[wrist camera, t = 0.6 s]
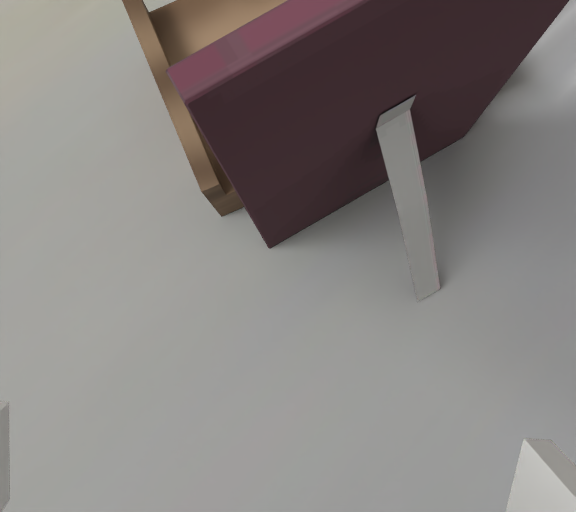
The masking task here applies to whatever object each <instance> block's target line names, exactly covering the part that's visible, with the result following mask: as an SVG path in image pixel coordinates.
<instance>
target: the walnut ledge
mask: <svg viewBox="0 0 576 512" xmlns="http://www.w3.org/2000/svg"><path fill="white" fill-rule="evenodd" d="M122 1H123V3H124V6H125V8H126V11H127V13H128V15H129V18H130V20H131V23H132V25H133V28H134V30H135V32H136V35H137V37H138V40H139V42H140V44H141V47H142V49H143V52H144V54H145V56H146V59H147V61H148V64H149V66H150V69H151V71H152V73H153V76H154V78H155V81H156V83H157V85H158V88H159V90H160V93H161V95H162V97H163V100H164V102H165V105H166V107H167V110H168V112H169V114H170V117H171V119H172V122H173V124H174V126H175V129H176V131H177V134H178V136H179V139H180V141H181V143H182V146H183V148H184V151H185V153H186V155H187V158H188V160H189V163H190V165H191V167H192V170H193V172H194V175H195V177H196V180H197V182H198V184H199V187H200V189H201V192H202V193H203V194H204V195H205V197H206V198H207V199H208V200H209V202H210V203H211V204H212V205H213V207H214V208H215V209H216V210H217V212H218V213H219V214H220V215H221V217H222V216H224V215H226V214H229V213H231V212H233V211H236V210H238V209H240V208H243V207H244V205H243V203H242V202H241V200H240V198H239V197H238V195H237V193H236V191H235V190H234V188H233V186H232V185H231V183H230V181H229V179H228V178H227V176H226V174H225V173H224V171H223V169H222V168H221V166H220V164H219V162H218V161H217V159H216V157H215V156H214V154H213V152H212V150H211V149H210V147H209V145H208V144H207V142H206V140H205V138H204V137H203V135H202V133H201V132H200V130H199V128H198V127H197V125H196V123H195V121H194V120H193V118H192V116H191V115H190V113H189V111H188V109H187V108H186V106H185V104H184V103H183V101H182V99H181V97H180V96H179V94H178V92H177V90H176V89H175V87H174V85H173V84H172V82H171V80H170V78H169V77H168V75H167V73H166V70H167V68H168V67H170V66H172V65H174V64H175V63H177V62H179V61H181V60H183V59H184V58H186V57H188V56H190V55H191V54H193V53H195V52H197V51H198V50H200V49H202V48H204V47H206V46H207V45H209V44H211V43H213V42H214V41H216V40H218V39H220V38H222V37H223V36H225V35H227V34H229V33H230V32H232V31H234V30H236V29H238V28H239V27H241V26H243V25H245V24H246V23H248V22H250V21H252V20H253V19H255V18H257V17H259V16H261V15H262V14H264V13H266V12H268V11H269V10H271V9H273V8H275V7H277V6H278V5H280V4H282V3H284V2H285V1H287V0H177V1H174V2H172V3H170V4H167V5H165V6H163V7H160V8H158V9H156V10H154V11H151V12H148V10H147V8H146V6H145V4H144V2H143V0H122Z"/></svg>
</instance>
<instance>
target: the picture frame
mask: <svg viewBox="0 0 576 512" xmlns="http://www.w3.org/2000/svg"><path fill="white" fill-rule="evenodd" d="M568 1H569V0H287V1H285V2H284V3H282V4H280V5H278V6H277V7H275V8H273V9H271V10H269V11H268V12H266V13H264V14H262V15H261V16H259V17H257V18H255V19H253V20H252V21H250V22H248V23H246V24H245V25H243V26H241V27H239V28H238V29H236V30H234V31H232V32H230V33H229V34H227V35H225V36H223V37H222V38H220V39H218V40H216V41H214V42H213V43H211V44H209V45H207V46H206V47H204V48H202V49H200V50H198V51H197V52H195V53H193V54H191V55H190V56H188V57H186V58H184V59H183V60H181V61H179V62H177V63H175V64H174V65H172V66H170V67H168V68H167V70H166V73H167V75H168V77H169V78H170V80H171V82H172V84H173V85H174V87H175V89H176V90H177V92H178V94H179V96H180V97H181V99H182V101H183V103H184V104H185V106H186V108H187V109H188V111H189V113H190V115H191V116H192V118H193V120H194V121H195V123H196V125H197V127H198V128H199V130H200V132H201V133H202V135H203V137H204V138H205V140H206V142H207V144H208V145H209V147H210V149H211V150H212V152H213V154H214V156H215V157H216V159H217V161H218V162H219V164H220V166H221V168H222V169H223V171H224V173H225V174H226V176H227V178H228V179H229V181H230V183H231V185H232V186H233V188H234V190H235V191H236V193H237V195H238V197H239V198H240V200H241V202H242V203H243V205H244V207H245V209H246V210H247V212H248V214H249V215H250V217H251V219H252V220H253V222H254V224H255V226H256V227H257V229H258V231H259V232H260V234H261V236H262V238H263V239H264V241H265V243H266V244H267V246H268V248H272V247H273V246H275V245H277V244H279V243H280V242H282V241H284V240H285V239H287V238H289V237H291V236H292V235H294V234H296V233H298V232H299V231H301V230H303V229H305V228H306V227H308V226H310V225H312V224H313V223H315V222H317V221H318V220H320V219H322V218H324V217H325V216H327V215H329V214H331V213H332V212H334V211H336V210H338V209H339V208H341V207H343V206H345V205H346V204H348V203H350V202H351V201H353V200H355V199H357V198H358V197H360V196H362V195H364V194H365V193H367V192H369V191H371V190H372V189H374V188H376V187H378V186H379V185H381V184H383V183H384V182H386V181H388V180H389V181H390V185H391V189H392V192H393V196H394V200H395V204H396V208H397V212H398V215H399V220H400V224H401V229H402V234H403V238H404V243H405V247H406V252H407V256H408V261H409V265H410V270H411V274H412V279H413V283H414V288H415V292H416V297H417V302H419V301H420V300H422V299H424V298H425V297H427V296H429V295H431V294H432V293H434V292H436V291H437V290H439V289H440V283H439V276H438V269H437V262H436V255H435V249H434V242H433V235H432V228H431V221H430V214H429V207H428V201H427V195H426V190H425V185H424V179H423V174H422V169H421V164H420V162H421V161H423V160H424V159H426V158H428V157H430V156H431V155H433V154H435V153H437V152H438V151H440V150H442V149H444V148H445V147H447V146H449V145H450V144H452V143H454V142H456V141H457V140H459V139H461V138H463V137H464V136H465V134H466V133H467V132H468V131H469V129H470V128H471V127H472V125H473V124H474V123H475V122H476V120H477V119H478V118H479V116H480V115H481V114H482V113H483V111H484V110H485V109H486V107H487V106H488V105H489V103H490V102H491V101H492V100H493V98H494V97H495V96H496V94H497V93H498V92H499V91H500V89H501V88H502V87H503V85H504V84H505V83H506V81H507V80H508V79H509V78H510V76H511V75H512V74H513V72H514V71H515V70H516V69H517V67H518V66H519V65H520V63H521V62H522V61H523V59H524V58H525V57H526V56H527V54H528V53H529V52H530V50H531V49H532V48H533V47H534V45H535V44H536V43H537V41H538V40H539V39H540V38H541V36H542V35H543V34H544V32H545V31H546V30H547V28H548V27H549V26H550V25H551V23H552V22H553V21H554V19H555V18H556V17H557V16H558V14H559V13H560V12H561V10H562V9H563V8H564V6H565V5H566V4H567V3H568Z"/></svg>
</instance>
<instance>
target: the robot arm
mask: <svg viewBox="0 0 576 512" xmlns="http://www.w3.org/2000/svg"><path fill="white" fill-rule="evenodd" d="M9 500H10V467H9V402H4V401H0V512H2V511H3V509H4V508H5V506H6V504H7V503H8V501H9ZM506 512H576V466H575V465H574V464H573V462H572V461H571V460H570V459H569V458H568V457H567V456H566V455H565V454H564V453H563V452H562V451H561V450H560V449H559V448H558V447H557V446H556V445H555V444H554V443H553V441H552V440H542V439H528V438H524V440H523V444H522V448H521V452H520V456H519V460H518V464H517V468H516V472H515V476H514V480H513V484H512V488H511V492H510V496H509V500H508V504H507V508H506Z"/></svg>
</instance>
